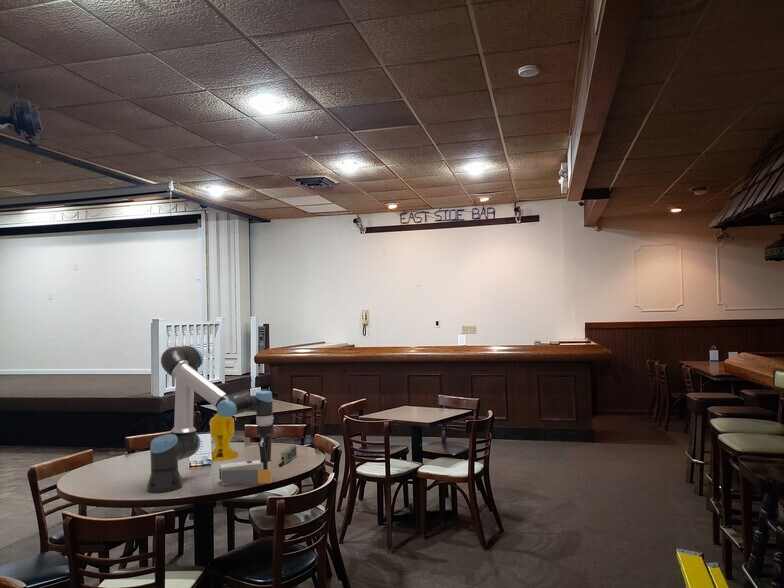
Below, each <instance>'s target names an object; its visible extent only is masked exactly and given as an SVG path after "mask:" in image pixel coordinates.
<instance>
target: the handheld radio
mask: <svg viewBox="0 0 784 588" xmlns="http://www.w3.org/2000/svg"><path fill="white" fill-rule="evenodd" d="M296 455H297V456H298V453H297V444H292V445H290V446H288V447H287V448H285V449H284V450H282V451H281V452H280V461H281V462H279V464H278V467H281V466H283V465H287V464H288V463H289V462H291V461H292V460H293V459H292V458H293V457H295V456H296ZM297 456H296V457H297ZM296 457H295V458H296ZM291 459H292V460H291ZM290 460H291V461H290ZM287 462H288V463H287ZM286 463H287V464H286Z"/></svg>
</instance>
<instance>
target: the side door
mask: <svg viewBox="0 0 784 588" xmlns="http://www.w3.org/2000/svg"><path fill="white" fill-rule="evenodd" d="M271 483H272V469H263V468H261V469H258V470H222V484H230V485H237V484H243V485H244V484H271ZM222 484H221V485H222Z"/></svg>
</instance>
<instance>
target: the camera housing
mask: <svg viewBox="0 0 784 588" xmlns="http://www.w3.org/2000/svg"><path fill="white" fill-rule="evenodd" d="M258 469H262V463H261V459H258V460H246V461H238V462H230V463H228V462H227V463H221V464H220V468H219V469H218V470H219V472H218V473H219V474H218V475H219V480H220V483H221V486H229V485H231V484H222V470H258Z"/></svg>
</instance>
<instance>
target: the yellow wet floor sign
mask: <svg viewBox="0 0 784 588" xmlns="http://www.w3.org/2000/svg"><path fill="white" fill-rule="evenodd" d="M208 425H209V428H210V429H209V431H210V432H209V434H210V436H211V438H212V440H213V441H214V443H215V446H214V447H215V448H214V450H213V451H211V453H212V460H213V462H220V461H221V462H224V460H225V461H231V460H233V459H238V457H239V452H238V451H236V450H235V449H233V448H232V447H231V440H232V438H233V436H234V435H235V419H234V418H233V416H231V417H221V416H220V415H219V414H218V412H216V414H215V415H214V416H213V417H211V418H210V420H209V422H208ZM230 459H231V460H230ZM212 460H211V461H212Z"/></svg>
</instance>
